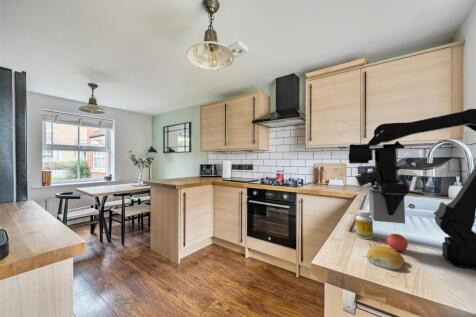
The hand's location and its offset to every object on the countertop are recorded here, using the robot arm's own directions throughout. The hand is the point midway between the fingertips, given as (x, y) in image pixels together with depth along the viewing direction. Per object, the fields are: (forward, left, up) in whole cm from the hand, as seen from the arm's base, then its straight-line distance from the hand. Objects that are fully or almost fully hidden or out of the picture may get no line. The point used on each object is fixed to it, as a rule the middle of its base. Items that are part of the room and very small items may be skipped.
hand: (387, 211), depth 63 cm
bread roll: (+3, +10, -12) cm, 16 cm away
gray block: (0, 0, -2) cm, 2 cm away
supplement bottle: (+5, -9, -12) cm, 16 cm away
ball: (-2, 0, -10) cm, 10 cm away
